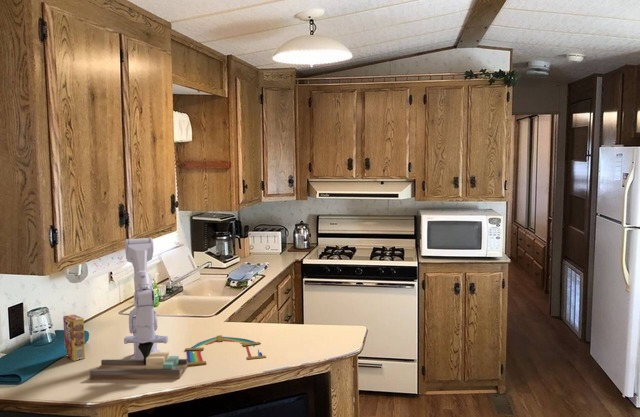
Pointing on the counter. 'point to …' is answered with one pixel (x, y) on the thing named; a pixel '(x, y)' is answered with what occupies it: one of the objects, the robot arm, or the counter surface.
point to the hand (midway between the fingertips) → (147, 363)
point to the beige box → (156, 360)
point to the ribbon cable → (196, 357)
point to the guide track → (139, 369)
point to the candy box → (74, 336)
